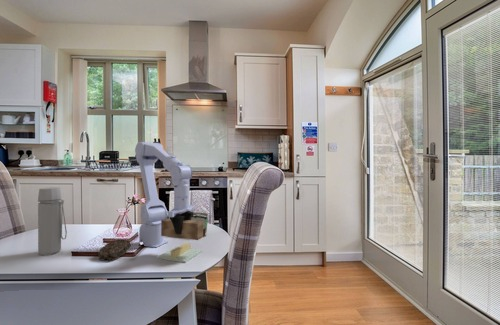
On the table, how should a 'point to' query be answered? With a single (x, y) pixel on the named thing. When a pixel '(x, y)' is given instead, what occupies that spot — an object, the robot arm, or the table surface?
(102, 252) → the dark brown rock
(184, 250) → the ridge stand
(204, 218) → the food container
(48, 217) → the water bottle
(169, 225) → the walnut bar
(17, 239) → the table surface
